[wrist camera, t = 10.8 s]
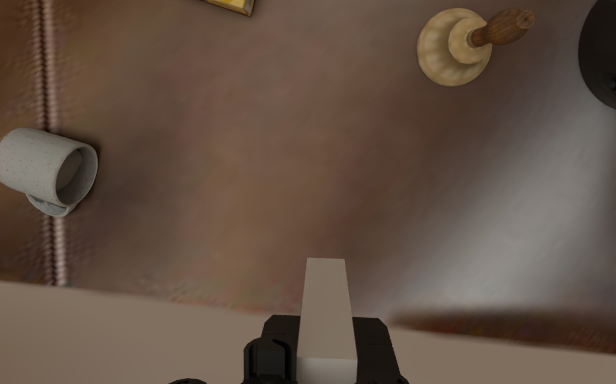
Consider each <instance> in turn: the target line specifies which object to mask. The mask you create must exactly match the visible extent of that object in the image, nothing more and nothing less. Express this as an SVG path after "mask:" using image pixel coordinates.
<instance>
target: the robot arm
mask: <svg viewBox="0 0 616 384" xmlns="http://www.w3.org/2000/svg"><path fill="white" fill-rule="evenodd" d="M579 63H580V68H581V72H582V75H583V78H584V80H585V82H586V84H587V86H588V87H589V89H590V90H591V91H592V93H593V94H594V95H595V96H596V97H597V98H598V99H599V100H601V101H602V102H603V103H605V104H606V105H608V106H610V107H612V108H614V109H616V0H598V1H597V2H596V4H595V5H594V7H593V8H592V10H591V11H590V13H589V15H588V17H587V19H586V21H585V24H584V26H583V29H582V33H581V37H580V43H579ZM169 384H206V382H203V381H201V380H198V379H190V378H187V379H181V380H176V381H174V382H172V383H169ZM241 384H409V382H408V381H407V380H406V379H405V378H404V377H403V376H402V375H401V374H400V371H399V367H398V364H397V360H396V357H395V353H394V350H393V347H392V343H391V340H390V336H389V332H388V329H387V326H386V325H385V324H384V323H383V322H382V321H381V320H380V319H379V318H363V317H352V314H351V307H350V299H349V292H348V284H347V276H346V269H345V261H344V259H328V258H307V265H306V275H305V284H304V293H303V302H302V311H301V316H292V315H272V316H271V317H270V318H269V319H268V320H267V321H266V322H265V324H264V327H263V331H262V335H261V337H260V338H257V339H254V340H252V341H251V342H249V343H248V344H247V345H246V347H245V349H244V380H243V382H242V383H241Z"/></svg>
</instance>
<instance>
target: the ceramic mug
mask: <svg viewBox="0 0 616 384" xmlns="http://www.w3.org/2000/svg"><path fill="white" fill-rule="evenodd" d="M97 169H98V157H97V154H96V151H95V150H94V148H93V147H92V146H90V145H88V144H86V143H82V142H79V141H75V140H72V139H69V138H66V137H62V136H58V135H55V134H51V133H48V132H45V131H42V130H39V129H33V128H16V129H13V130H11V131H9V132H7V133H6V134H5V135H3V136H2V137H1V138H0V182H1V183H3V184H5V185H6V186H8V187H10V188H13V189H15V190H17V191H20V192H24V193H26V196H27V197H28V199H29V201H30V202H31V203H32V204H33V205H34V206H35V207H37V208H38V209H39V210H41V211H42V212H44V213H46V214H48V215H51V216H54V217H63V216H65V215H67V214H69V213H70V212H71V211H72V210H73V209H74V208H75V207H76V205H77V203H78V202H80V201H81V200H82V199H83V198H84V197H85V196H86V194H87V193H88V192H89V190H90V189H91V187H92V185H93V183H94V180H95V177H96V174H97ZM49 202H50V203H49ZM52 203H53V204H52ZM54 204H55V205H54ZM56 205H58V206H56ZM59 206H61V207H59ZM62 207H67V208H62Z"/></svg>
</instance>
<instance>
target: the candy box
mask: <svg viewBox="0 0 616 384" xmlns="http://www.w3.org/2000/svg"><path fill="white" fill-rule="evenodd" d="M201 1H204V2H207V3H211V4H214V5H217V6H220V7H222V8H225V9H228V10H231V11H234V12H238V13H241V14H243V15H246V16H250V15H251V11H252V8H253V3H254V0H201Z"/></svg>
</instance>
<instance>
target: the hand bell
mask: <svg viewBox="0 0 616 384" xmlns="http://www.w3.org/2000/svg"><path fill="white" fill-rule="evenodd" d="M534 22H535V15H534V13H533V12H532V11H529V10H523V9H518V8H511V9H507V10H504V11H501V12H499V13H498V14H496V15H495V16H493V17H492V18H491V19H490V20H489V21H488V22H486V21H484V20H483V19H482V18H481V17H480V16H479V15H478V14H476V13H475V12H473V11H471V10H468V9H464V8H451V9H447V10H444V11H442V12H440V13H438V14H436V15H435V16H433V17H432V18H431V19H430V20H429V21H428V22H427V23H426V25H425V26H424V28H423V29H422V31H421V33H420V35H419V38H418V42H417V58H418V62H419V65H420V67H421V69H422V71H423V72H424V73H425V75H426V76H427V77H428V78H429V79H431V80H432V81H434V82H435V83H437V84H440V85H443V86H459V85H463V84H466V83H468V82H470V81H472V80H473V79H475V78H476V77H477V76H478V75H479V74H480V73H481V72H482V71H483V70H484V68H485V67H486V65H487V63H488V61H489V59H490V56H491V52H492V45H493V44H496V45H503V44H508V43H511V42H514V41H516V40H518V39H519V38H521V37H522V36H523V35H524V34H525V33H526V32H527V30H528V29H529V28H530V27H531V26H532V25H533V24H534Z"/></svg>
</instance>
